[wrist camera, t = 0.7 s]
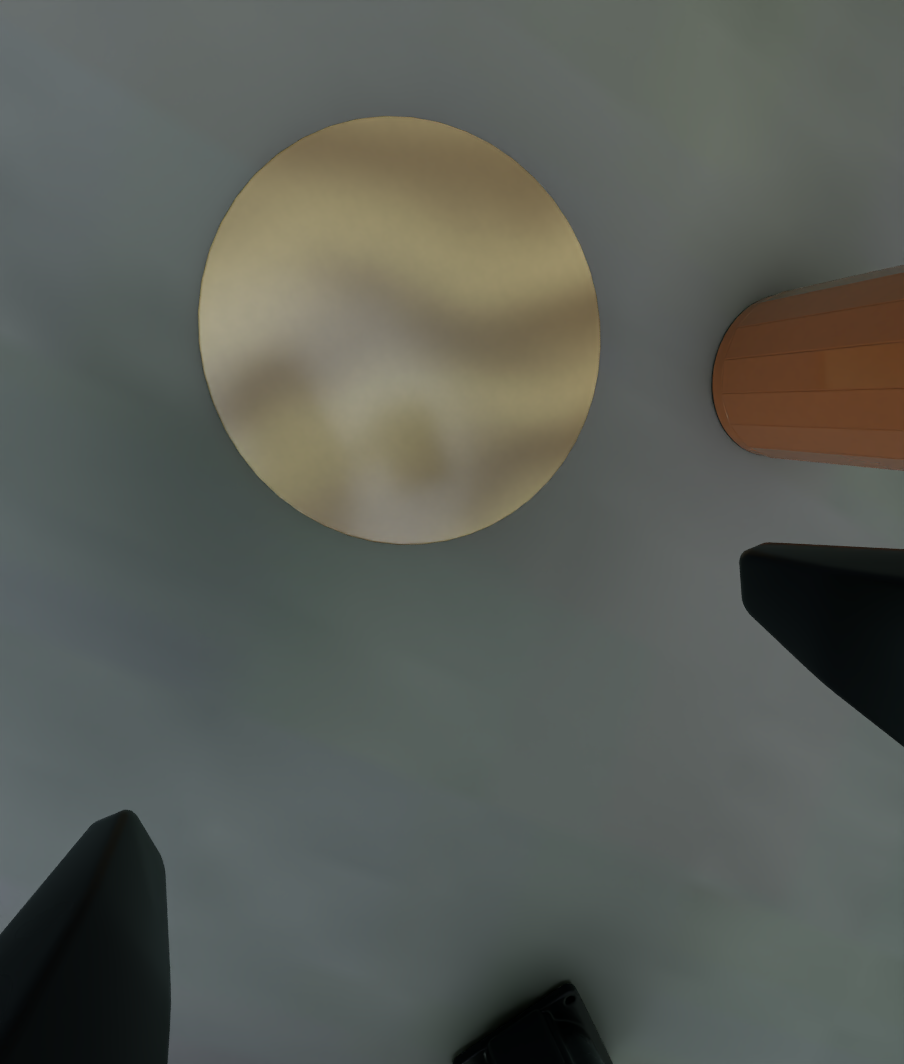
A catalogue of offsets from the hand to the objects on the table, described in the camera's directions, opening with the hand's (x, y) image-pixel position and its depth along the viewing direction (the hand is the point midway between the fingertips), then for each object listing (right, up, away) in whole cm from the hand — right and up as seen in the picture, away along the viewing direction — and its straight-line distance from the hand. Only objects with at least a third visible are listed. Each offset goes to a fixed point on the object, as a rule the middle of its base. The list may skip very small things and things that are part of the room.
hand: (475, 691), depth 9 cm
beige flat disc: (-2, +9, +13) cm, 16 cm away
